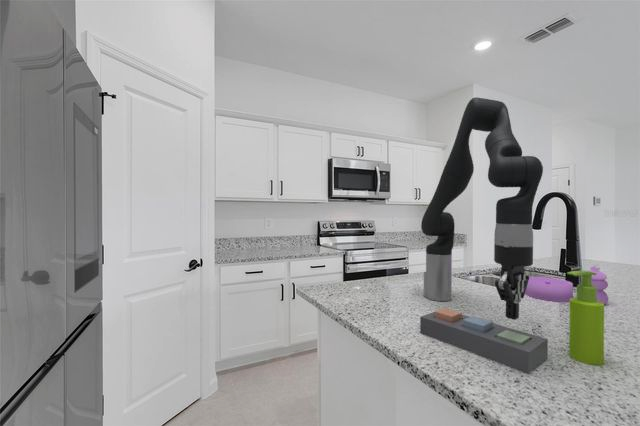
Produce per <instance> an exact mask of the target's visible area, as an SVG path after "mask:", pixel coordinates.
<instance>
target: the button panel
mask: <svg viewBox="0 0 640 426" xmlns="http://www.w3.org/2000/svg"><path fill="white" fill-rule="evenodd" d="M469 317H470V316H469V315H464V314H462V320H459V321H457V322H454V323H450V322H447V321H444V320H441V319H438V318H435V311H433V312H430V313H427V314H423V315H420V319H419V320H420V321H419V324H420V325H419V329H420V330H419V331H420V332H419V333H420V334H422V335H425V336H427V337H430V338H433V339H435V340H438V341H440V342H444V343H446V344H448V345H451V346H453V347H457V348H459V349H461V350H465V351H467V352H469V353H472V354H475V355H476V356H477V355H478V356H480V357H483V358H486V359H487V360H491V361H494V362H495V363H499V364H502V365H505V366H506V367H509V368H513V369H515V370H518V371H520V372H523V373H525V374H528V375H530V373H532V372H533V371H535V370H536V369H537V368H538V367H539V366H540V365H542V363H544V362H545V361H547V359H548V357H549V356H548V352H549V351H548V348H549V347H548V346H549V345H548V343H549V341H548V340H549V338H545V337H544V336H543V337H542V336H539V335H535V334H532V333H528V332H525V331H521V330H519V329H514V328H511V327H507V326H504V325H500V324H497V323H494V322H493V329H492V330H490V331H488V332H486V333H482V332H479V331H476V330H473V329H469V328H466V327H463V320H464V319H467V318H469ZM505 330H508V331H511V332H515V333H518V334H522V335H525V336H529V337H530V341H528V342H527V343H525V344H524V345H520V344H517V343H514V342H511V341H507V340H504V339H501V338H498V337H497V335H498V334H500V333H501V332H503V331H505Z"/></svg>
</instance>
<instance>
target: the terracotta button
mask: <svg viewBox="0 0 640 426" xmlns="http://www.w3.org/2000/svg"><path fill="white" fill-rule="evenodd" d="M434 312H435V318H438V319H441V320H444V321H447V322H450V323H454V322H457V321H459V320H462V315H463V312H459V311H458V310H457V311H456V310H453V309H449V308H446V307H444V308H441V309H439V310H435V311H434Z"/></svg>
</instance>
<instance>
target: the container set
mask: <svg viewBox="0 0 640 426" xmlns="http://www.w3.org/2000/svg"><path fill="white" fill-rule="evenodd" d="M589 271H590V272H594V273H596V275H592V285H593V286H595V287H596V288H597V301H599V302H601V303H603V304H604V305H605V304H606V303H608V302H609V295H608V294H607V293H606V291H604V290H606V289H607V288H608V286H609V283H608V281H607V278H608V276H607V275H606V273H603V272H602V271H599V267H595V266H594V267H593V266H590V270H589ZM580 284H582V279H581V281H580ZM573 292H574V283H573V282H572V281H569V280H565V279H561V278H555V277H548V276H546V277H545V276H529V281H528V284H527V288H526V291H525V294H526V295H527V296H526V295H525V296H526V297H528V296H529V298H531V297H532V298H531V299H534V298H535V300H538V299H539V301H543V300H544V301H545V302H550V301H552V303H570V299H571V298H574V297H573V295H574V293H573Z"/></svg>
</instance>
